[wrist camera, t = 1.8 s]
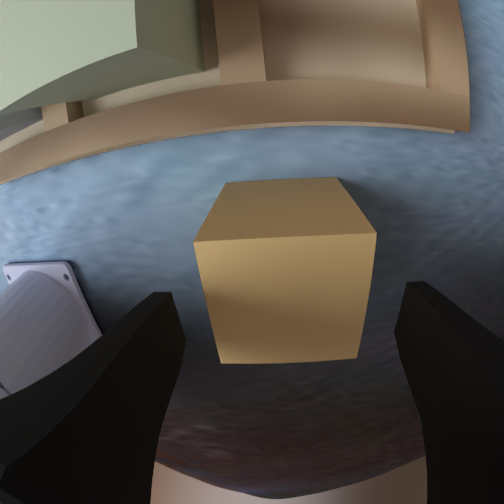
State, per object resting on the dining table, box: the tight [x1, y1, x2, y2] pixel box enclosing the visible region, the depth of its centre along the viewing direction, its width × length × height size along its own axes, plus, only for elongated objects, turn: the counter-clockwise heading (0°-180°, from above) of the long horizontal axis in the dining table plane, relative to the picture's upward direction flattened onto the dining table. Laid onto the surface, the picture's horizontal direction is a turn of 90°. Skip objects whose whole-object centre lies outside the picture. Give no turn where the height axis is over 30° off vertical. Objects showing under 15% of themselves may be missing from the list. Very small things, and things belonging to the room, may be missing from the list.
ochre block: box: [193, 177, 377, 364], centre depth 12 cm, size 5×5×6 cm
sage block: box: [0, 0, 205, 115], centre depth 6 cm, size 5×5×6 cm
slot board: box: [0, 0, 470, 185], centre depth 9 cm, size 10×26×3 cm, turn 95°
